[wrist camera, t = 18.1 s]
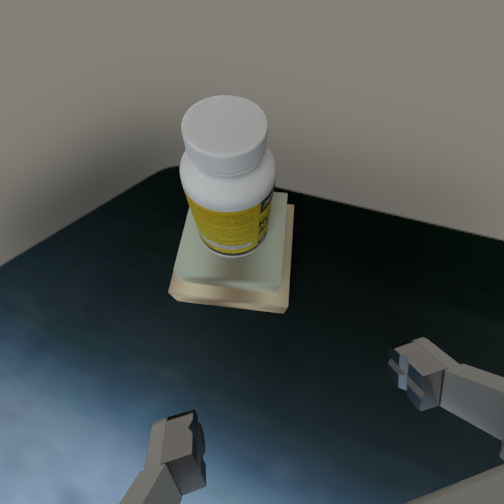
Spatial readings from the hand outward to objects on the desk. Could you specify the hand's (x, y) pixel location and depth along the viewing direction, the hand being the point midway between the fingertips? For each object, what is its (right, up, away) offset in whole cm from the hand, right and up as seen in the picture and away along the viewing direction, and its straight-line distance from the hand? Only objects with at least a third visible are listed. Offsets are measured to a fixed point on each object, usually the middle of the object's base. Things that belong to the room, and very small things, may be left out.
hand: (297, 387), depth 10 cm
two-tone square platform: (-3, +5, +16) cm, 17 cm away
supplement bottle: (-3, +7, +10) cm, 13 cm away
